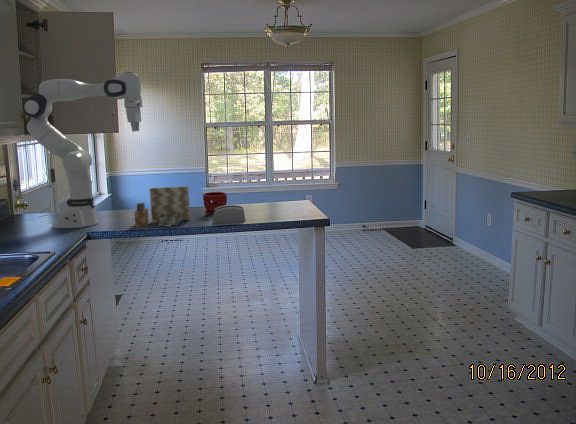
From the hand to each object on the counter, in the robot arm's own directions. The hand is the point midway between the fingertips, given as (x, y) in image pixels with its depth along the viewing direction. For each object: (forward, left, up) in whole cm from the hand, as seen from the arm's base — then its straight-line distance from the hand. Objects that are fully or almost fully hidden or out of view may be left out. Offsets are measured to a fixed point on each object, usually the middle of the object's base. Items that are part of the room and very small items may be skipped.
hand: (135, 131), depth 288 cm
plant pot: (+38, +10, -48) cm, 62 cm away
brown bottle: (+1, -11, -48) cm, 49 cm away
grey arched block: (+46, -13, -48) cm, 68 cm away
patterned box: (+15, -10, -48) cm, 51 cm away
